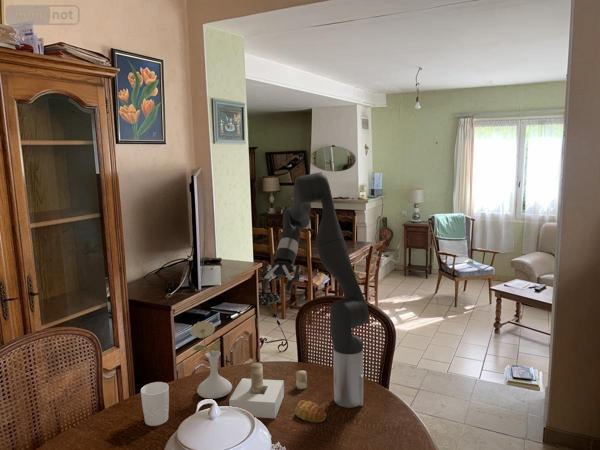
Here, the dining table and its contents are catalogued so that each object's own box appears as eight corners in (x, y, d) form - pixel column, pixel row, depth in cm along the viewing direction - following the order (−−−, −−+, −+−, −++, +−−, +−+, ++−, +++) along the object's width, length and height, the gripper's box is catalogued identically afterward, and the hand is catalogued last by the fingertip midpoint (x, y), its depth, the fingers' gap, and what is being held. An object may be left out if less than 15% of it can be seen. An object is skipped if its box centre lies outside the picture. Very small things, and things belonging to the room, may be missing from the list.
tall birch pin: (264, 402, 144) (263, 363, 143) (262, 408, 141) (260, 368, 139) (253, 401, 145) (252, 362, 143) (250, 407, 141) (249, 367, 140)
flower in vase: (235, 385, 156) (232, 314, 152) (228, 402, 144) (225, 326, 141) (197, 385, 156) (193, 315, 153) (188, 402, 145) (184, 327, 142)
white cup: (145, 430, 130) (142, 397, 129) (140, 417, 137) (138, 385, 136) (173, 422, 133) (171, 390, 132) (167, 410, 140) (165, 379, 139)
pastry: (331, 416, 136) (330, 404, 135) (319, 427, 130) (319, 414, 130) (304, 407, 141) (304, 395, 140) (292, 417, 135) (292, 405, 135)
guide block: (284, 395, 148) (283, 380, 148) (275, 418, 135) (274, 402, 134) (242, 392, 151) (242, 378, 150) (229, 415, 137) (229, 399, 136)
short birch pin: (300, 383, 156) (300, 369, 156) (309, 386, 154) (308, 371, 153) (294, 387, 153) (293, 373, 153) (303, 390, 151) (302, 375, 151)
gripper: (266, 246, 169) (254, 283, 160) (302, 247, 165) (292, 286, 155) (271, 257, 175) (260, 294, 166) (307, 259, 170) (297, 297, 161)
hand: (275, 290), depth 161 cm, fingers open, 8 cm apart
